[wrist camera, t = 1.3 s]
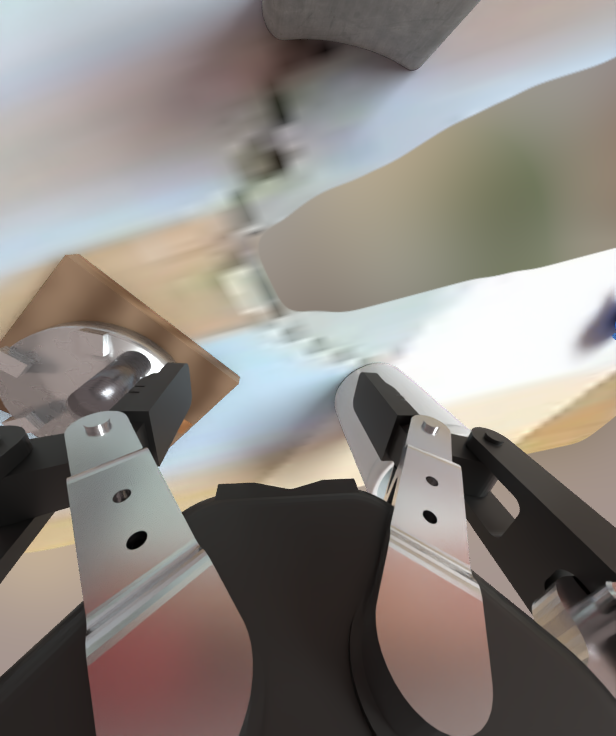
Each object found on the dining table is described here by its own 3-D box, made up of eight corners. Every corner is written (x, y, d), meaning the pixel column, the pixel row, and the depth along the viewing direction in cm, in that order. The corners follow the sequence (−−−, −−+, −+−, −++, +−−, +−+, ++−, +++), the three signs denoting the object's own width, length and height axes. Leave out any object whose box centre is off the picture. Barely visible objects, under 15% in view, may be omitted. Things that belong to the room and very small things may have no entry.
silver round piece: (-14, 393, 27) (-153, 468, 18) (71, 283, 24) (-46, 307, 15) (139, 460, 36) (98, 535, 27) (218, 386, 32) (202, 442, 23)
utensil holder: (328, 434, 44) (365, 535, 29) (330, 364, 37) (380, 447, 22) (401, 423, 46) (471, 511, 31) (415, 354, 39) (515, 425, 24)
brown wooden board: (-21, 384, 29) (-40, 394, 27) (79, 254, 25) (64, 255, 23) (149, 460, 39) (143, 471, 37) (239, 376, 35) (238, 384, 33)
